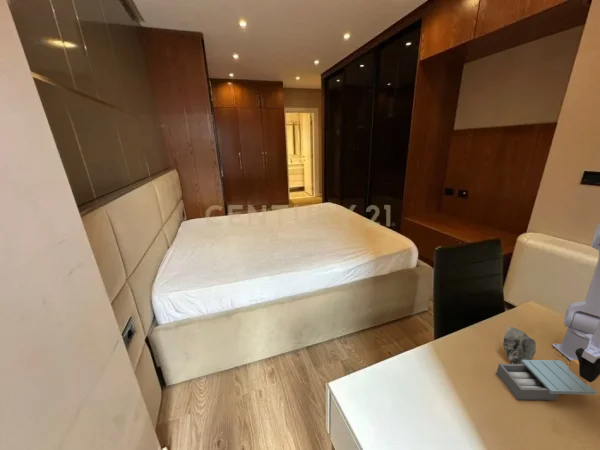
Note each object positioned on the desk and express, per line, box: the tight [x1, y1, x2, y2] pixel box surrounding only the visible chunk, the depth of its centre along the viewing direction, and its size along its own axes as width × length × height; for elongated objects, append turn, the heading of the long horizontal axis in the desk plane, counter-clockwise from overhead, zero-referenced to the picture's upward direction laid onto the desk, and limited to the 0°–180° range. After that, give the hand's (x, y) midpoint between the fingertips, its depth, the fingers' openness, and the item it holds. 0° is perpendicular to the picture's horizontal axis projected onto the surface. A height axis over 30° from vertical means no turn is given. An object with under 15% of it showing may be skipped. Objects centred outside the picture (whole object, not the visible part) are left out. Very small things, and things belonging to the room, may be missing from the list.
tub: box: [495, 363, 560, 402], centre depth 69 cm, size 10×8×4 cm
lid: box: [520, 359, 597, 396], centre depth 67 cm, size 12×10×4 cm
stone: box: [502, 325, 537, 364], centre depth 79 cm, size 10×10×10 cm
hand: (595, 374), depth 61 cm, fingers open, 7 cm apart
